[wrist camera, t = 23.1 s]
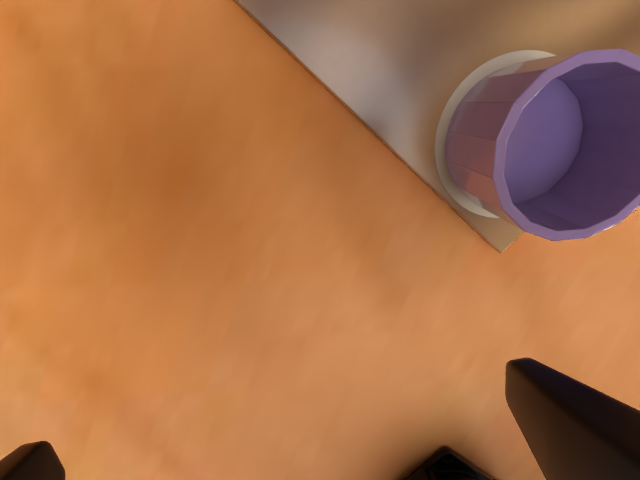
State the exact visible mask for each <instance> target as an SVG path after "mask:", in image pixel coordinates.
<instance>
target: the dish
mask: <svg viewBox="0 0 640 480" xmlns="http://www.w3.org/2000/svg"><path fill="white" fill-rule="evenodd" d="M445 157H446V164H447V167H448V171H449V174H450V176H451V178H452V180H453V182H454V184H455V185H456V187H457V188H458V189H459V190H460V191H461V193H462V194H463V195H465V196H466V197H467V198H468V199H470V200H471V201H472V202H473V203H474V204H476V205H477V206H479V207H481V208H483V209H485V210H487V211H488V212H490V213H492V214H494V215H496V216H497V217H499V218H501V219H503V220H505V221H506V222H508V223H510V224H512V225H514V226H516V227H517V228H519V229H521V230H523V231H525V232H527V233H530V234H533V235H536V236H539V237H542V238H545V239H548V240H551V241H559V240H571V239H582V238H588V237H590V236H592V235H595V234H597V233H599V232H601V231H603V230H606V229H608V228H610V227H612V226H614V225H617V224H619V223H620V222H621V221H623V220H624V219H625V218H626V217H627V216H628V215H629V214H630V213H632V212H633V211H634V210H635V209H636V208H637V207H638V206H640V56H638V55H636V54H633V53H631V52H629V51H627V50H625V49H621V48H616V49H601V50H586V51H579V52H574V53H568V54H563V55H557V56H552V57H547V58H541V59H536V60H530V61H525V62H519V63H515V64H512V65H510V66H507V67H504V68H501V69H499V70H497V71H494V72H493V73H491V74H489V75H487V76H486V77H484V78H483V79H482V80H480V81H479V82H478V83H477V84H476V85H474V86H473V87H472V88H471V89H470V90H469V91H468V93H467V94H466V95H465V96H464V98H463V99H462V100H461V102H460V103H459V105H458V106H457V108H456V110H455V112H454V114H453V116H452V118H451V121H450V124H449V127H448V131H447V135H446V143H445Z"/></svg>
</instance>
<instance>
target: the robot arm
mask: <svg viewBox="0 0 640 480" xmlns="http://www.w3.org/2000/svg"><path fill="white" fill-rule="evenodd" d="M505 395H506V400H507V403H508V406H509V408H510V410H511V412H512V414H513V416H514V418H515V420H516V422H517V424H518V425H519V427H520V429H521V431H522V433H523V435H524V437H525V439H526V441H527V443H528V445H529V447H530V449H531V451H532V453H533V455H534V457H535V459H536V461H537V463H538V465H539V466H540V468H541V470H542V472H543V474H544V476H545V478H546V480H640V411H639V410H637V409H635V408H633V407H631V406H629V405H626V404H624V403H622V402H620V401H618V400H616V399H614V398H612V397H610V396H608V395H606V394H604V393H602V392H600V391H598V390H596V389H593V388H591V387H589V386H587V385H585V384H583V383H581V382H579V381H577V380H575V379H573V378H571V377H569V376H567V375H565V374H563V373H560V372H558V371H556V370H554V369H552V368H550V367H548V366H546V365H544V364H542V363H540V362H538V361H536V360H534V359H531V358H521V359H515V360H510V361H508V362H507V365H506V385H505ZM0 480H65V470H64V467H63V466H62V464H61V462H60V460H59V458H58V456H57V454H56V453H55V451H54V449H53V447H52V445H51V444H50V443H48V442H47V441H39V442H33V443H28V444H24V445H22V446H20V447H19V448H17V449H16V450H14V451H13V452H12V453H10V454H9V455H7V456H6V457H5V458H3V459H2V460H1V461H0ZM404 480H495V479H493V478H492V477H491V476H489V475H488V474H486V473H485V472H483V471H482V470H480V469H479V468H478V467H476V466H475V465H473V464H472V463H470V462H469V461H467V460H466V459H464V458H463V457H462V456H460V455H459V454H457V453H456V452H454V451H453V450H451V449H450V448H442V449H440V450H439V451H438V452H436V453H435V454H434V455H433V456H432V457H430V458H429V459H428V460H427V461H426V462H424V463H423V464H422V465H421V466H420V467H418V468H417V469H416V470H415V471H414V472H412V473H411V474H410V475H409V476H408V477H406V478H405V479H404Z"/></svg>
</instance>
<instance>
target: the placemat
mask: <svg viewBox="0 0 640 480" xmlns="http://www.w3.org/2000/svg"><path fill="white" fill-rule="evenodd" d="M234 1H235V2H236V3H237V4H238V5H239V6H240V7H241V8H242V9H244V10H245V11H246V12H247V13H248V14H249V15H250V16H251V17H252V18H253V19H254V20H255V21H256V22H257V23H258V24H259V25H260V26H261V27H262V28H263V29H265V30H266V31H267V32H268V33H269V34H270V35H271V36H272V37H273V38H274V39H275V40H276V41H277V42H278V43H279V44H280V45H281V46H282V47H283V48H284V49H285V50H287V51H288V52H289V53H290V54H291V55H292V56H293V57H294V58H295V59H296V60H297V61H298V62H299V63H300V64H301V65H302V66H303V67H304V68H305V69H306V70H307V71H309V72H310V73H311V74H312V75H313V76H314V77H315V78H316V79H317V80H318V81H319V82H320V83H321V84H322V85H323V86H324V87H325V88H326V89H327V90H328V91H330V92H331V93H332V94H333V95H334V96H335V97H336V98H337V99H338V100H339V101H340V102H341V103H342V104H343V105H344V106H345V107H346V108H347V109H348V110H349V111H350V112H352V113H353V114H354V115H355V116H356V117H357V118H358V119H359V120H360V121H361V122H362V123H363V124H364V125H365V126H366V127H367V128H368V129H369V130H370V131H371V132H373V133H374V134H375V135H376V136H377V137H378V138H379V139H380V140H381V141H382V142H383V143H384V144H385V145H386V146H387V147H388V148H389V149H390V150H391V151H392V152H393V153H395V154H396V155H397V156H398V157H399V158H400V159H401V160H402V161H403V162H404V163H405V164H406V165H407V166H408V167H409V168H410V169H411V170H412V171H413V172H414V173H415V174H417V175H418V176H419V177H420V178H421V179H422V180H423V181H424V182H425V183H426V184H427V185H428V186H429V187H430V188H431V189H432V190H433V191H434V192H435V193H436V194H438V195H439V196H440V197H441V198H442V199H443V200H444V201H445V202H446V203H447V204H448V205H449V206H450V207H451V208H452V209H453V210H454V211H455V212H456V213H457V214H458V215H460V216H461V217H462V218H463V219H464V220H465V221H466V222H467V223H468V224H469V225H470V226H471V227H472V228H473V229H474V230H475V231H476V232H477V233H478V234H479V235H481V236H482V237H483V238H484V239H485V240H486V241H487V242H488V243H489V244H490V245H491V246H492V247H493V248H494V249H495V250H497V251H498V252H499V253H502V252H503V251H505V250H506V249H507V248H508V247H509V246H510V245H511V244H512V243H513V242H514V241H515V240H516V239H517V238H518V237H519V236H520V235H522V234H523V233H524V232H525V231H523V230H521V229H519V228H517V227H516V226H514V225H512V224H510V223H508V222H506V221H505V220H503V219H501V218H499V217H497V216H496V215H494V214H492V213H490V212H488V211H487V210H485V209H483V208H481V207H479V206H477V205H476V204H474V203H473V202H472V201H471V200H470V199H468V198H467V197H466V196H465V195H463V194H462V193H461V191H460V190H459V189H458V188H457V187H456V185H455V184H454V182H453V180H452V178H451V176H450V174H449V171H448V167H447V164H446V157H445V143H446V135H447V131H448V127H449V124H450V121H451V118H452V116H453V114H454V112H455V110H456V108H457V106H458V105H459V103H460V102H461V100H462V99H463V98H464V96H465V95H466V94H467V93H468V91H469V90H470V89H471V88H472V87H473V86H474V85H476V84H477V83H478V82H479V81H480V80H482V79H483V78H484V77H486V76H487V75H489V74H491V73H493V72H494V71H497V70H499V69H501V68H504V67H507V66H510V65H512V64H515V63H519V62H525V61H530V60H536V59H541V58H547V57H552V56H557V55H563V54H568V53H574V52H579V51H586V50H601V49H616V48H621V49H625V50H627V51H629V52H631V53H633V54H636V55H638V56H640V0H234Z"/></svg>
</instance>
